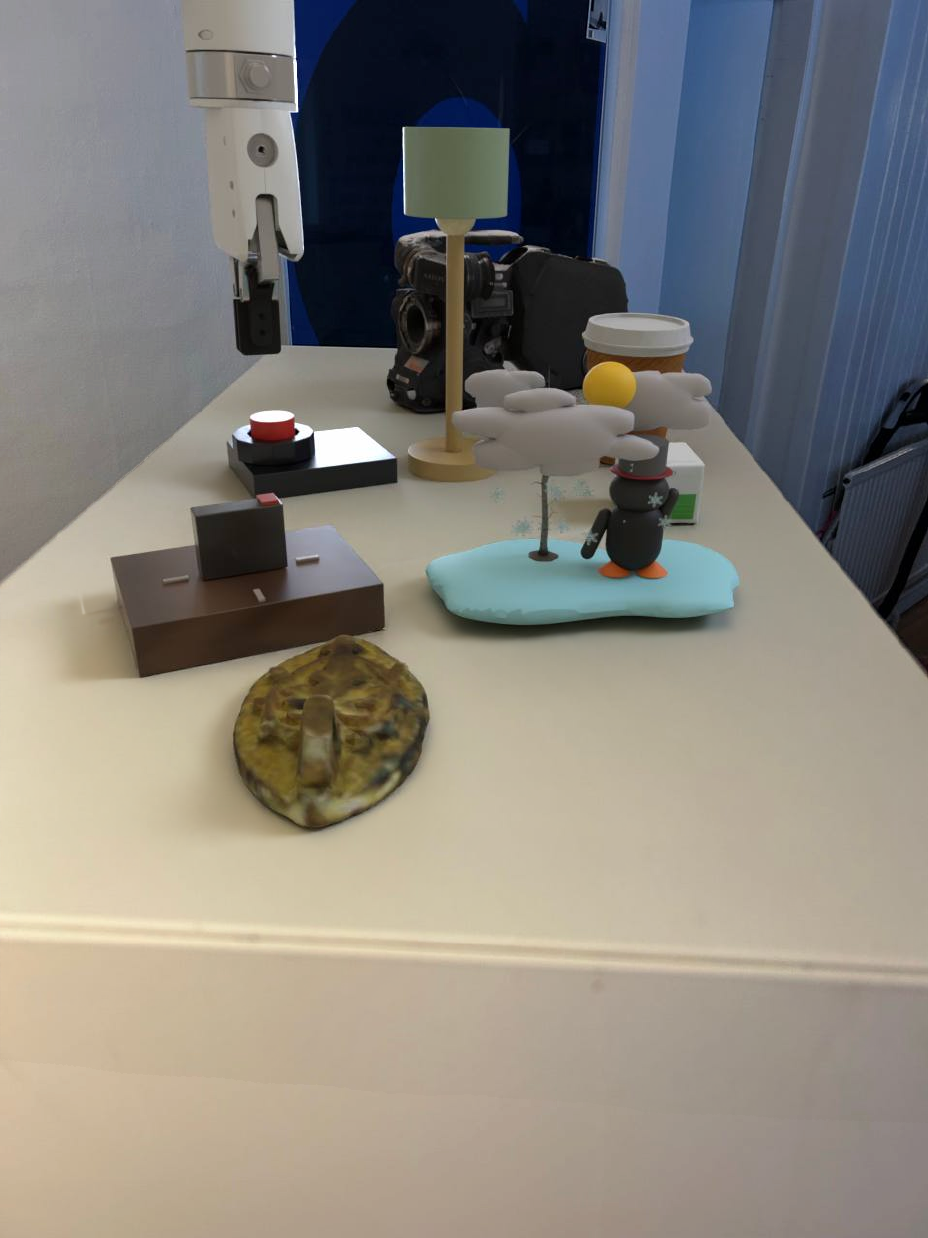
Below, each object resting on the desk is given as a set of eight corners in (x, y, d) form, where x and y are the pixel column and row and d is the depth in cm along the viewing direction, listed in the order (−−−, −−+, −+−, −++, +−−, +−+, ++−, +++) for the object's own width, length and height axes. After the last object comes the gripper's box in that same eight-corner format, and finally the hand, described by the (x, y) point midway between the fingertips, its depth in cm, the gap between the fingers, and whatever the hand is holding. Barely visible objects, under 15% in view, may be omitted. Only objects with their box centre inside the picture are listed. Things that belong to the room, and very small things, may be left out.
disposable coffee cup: (608, 478, 80) (621, 334, 75) (555, 447, 88) (563, 315, 83) (700, 465, 84) (718, 327, 78) (641, 436, 91) (654, 309, 86)
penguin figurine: (713, 562, 65) (747, 337, 58) (765, 635, 55) (813, 377, 48) (424, 565, 64) (422, 336, 57) (427, 640, 54) (425, 377, 47)
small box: (625, 526, 70) (631, 463, 68) (610, 499, 76) (615, 440, 73) (699, 525, 71) (708, 463, 69) (679, 499, 76) (686, 440, 74)
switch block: (252, 502, 74) (247, 453, 72) (225, 465, 82) (221, 420, 80) (397, 483, 78) (396, 436, 77) (359, 450, 87) (357, 407, 85)
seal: (261, 673, 53) (217, 852, 39) (243, 598, 51) (191, 760, 37) (425, 652, 53) (437, 824, 40) (415, 577, 51) (424, 731, 37)
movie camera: (424, 428, 90) (426, 231, 83) (349, 396, 104) (345, 225, 97) (670, 404, 105) (689, 234, 98) (575, 378, 119) (586, 229, 112)
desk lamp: (429, 487, 78) (427, 126, 65) (394, 460, 84) (387, 126, 72) (514, 475, 81) (528, 128, 68) (475, 449, 87) (481, 128, 75)
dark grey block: (203, 581, 54) (194, 512, 52) (198, 570, 55) (189, 502, 53) (288, 567, 56) (283, 500, 54) (281, 557, 57) (275, 491, 55)
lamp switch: (257, 445, 75) (255, 424, 75) (247, 433, 78) (245, 412, 77) (300, 440, 77) (299, 419, 76) (289, 428, 80) (287, 408, 79)
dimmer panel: (139, 677, 50) (130, 625, 49) (117, 601, 58) (109, 554, 57) (385, 629, 55) (383, 581, 54) (334, 565, 63) (331, 521, 62)
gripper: (326, 86, 61) (333, 370, 70) (269, 92, 73) (281, 333, 82) (209, 79, 58) (231, 376, 67) (170, 86, 70) (193, 337, 79)
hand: (259, 352), depth 74 cm, fingers closed
